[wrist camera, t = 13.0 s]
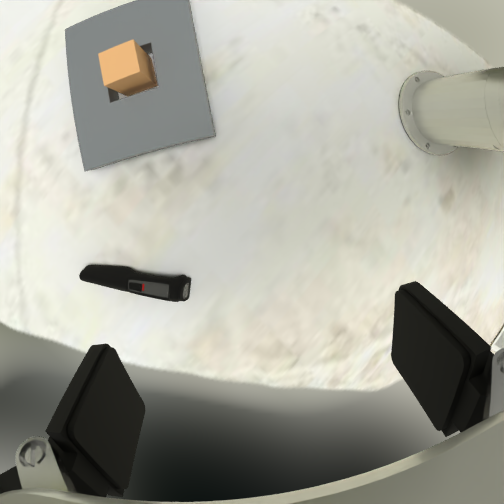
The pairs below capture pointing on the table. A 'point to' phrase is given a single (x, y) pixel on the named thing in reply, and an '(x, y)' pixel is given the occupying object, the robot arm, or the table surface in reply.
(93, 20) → the socket board
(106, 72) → the peg
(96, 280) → the electric trimmer
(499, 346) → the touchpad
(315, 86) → the table surface
